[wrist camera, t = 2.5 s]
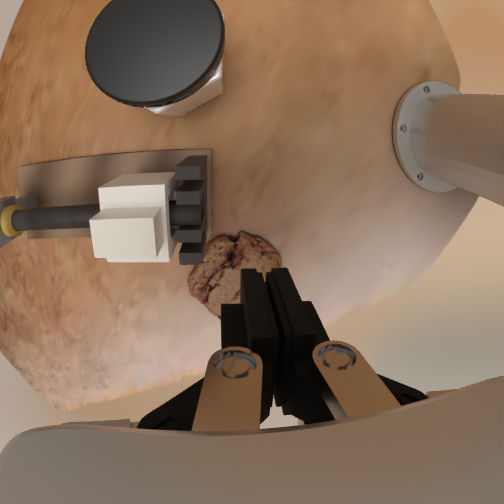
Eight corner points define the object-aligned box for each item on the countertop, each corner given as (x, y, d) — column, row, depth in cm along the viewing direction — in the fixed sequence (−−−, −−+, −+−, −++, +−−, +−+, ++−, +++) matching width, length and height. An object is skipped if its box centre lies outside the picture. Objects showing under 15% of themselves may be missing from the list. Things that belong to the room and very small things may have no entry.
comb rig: (211, 148, 27) (205, 159, 18) (212, 231, 30) (207, 275, 22) (23, 165, 25) (-32, 185, 17) (33, 234, 28) (-14, 271, 20)
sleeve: (177, 171, 23) (155, 192, 16) (179, 235, 25) (163, 279, 18) (122, 174, 22) (82, 196, 15) (128, 235, 24) (95, 278, 17)
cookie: (227, 331, 35) (227, 347, 33) (171, 263, 31) (166, 276, 29) (302, 290, 34) (308, 304, 31) (252, 211, 30) (255, 221, 27)
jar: (118, 90, 24) (55, 74, 13) (164, 18, 21) (129, -37, 10) (199, 130, 26) (179, 134, 15) (246, 58, 24) (260, 14, 13)
